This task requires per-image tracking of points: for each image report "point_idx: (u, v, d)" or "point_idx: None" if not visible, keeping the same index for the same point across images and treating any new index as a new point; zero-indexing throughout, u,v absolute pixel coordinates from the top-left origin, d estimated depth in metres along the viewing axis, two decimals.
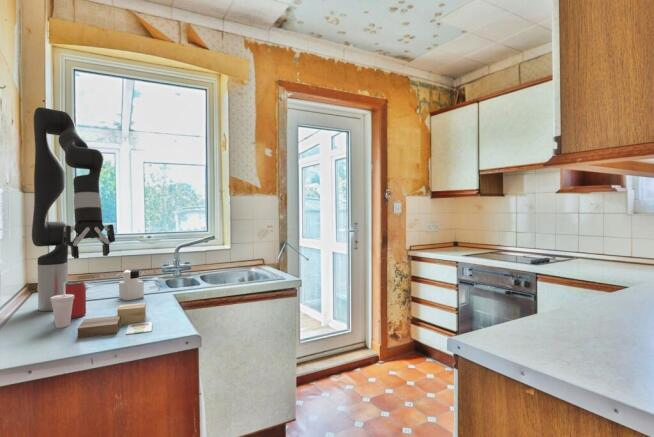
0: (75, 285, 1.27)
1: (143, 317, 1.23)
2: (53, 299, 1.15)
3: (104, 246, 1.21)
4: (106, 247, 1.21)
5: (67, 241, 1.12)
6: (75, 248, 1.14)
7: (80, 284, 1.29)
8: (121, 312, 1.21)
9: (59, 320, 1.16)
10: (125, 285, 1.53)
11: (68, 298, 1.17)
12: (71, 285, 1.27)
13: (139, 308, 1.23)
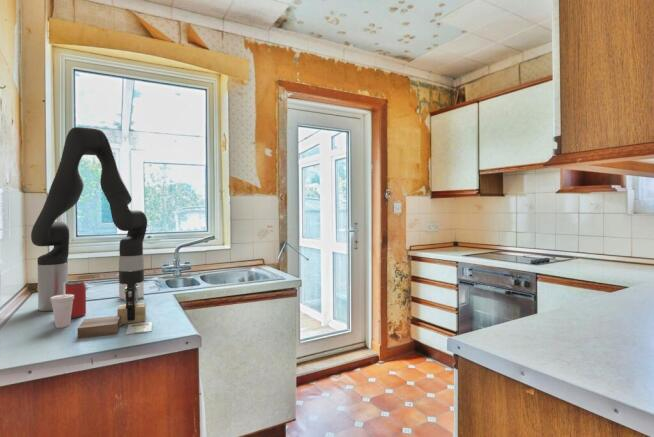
0: (75, 285, 1.27)
1: (143, 316, 1.23)
2: (53, 299, 1.15)
3: None
4: None
5: (134, 305, 1.20)
6: (133, 310, 1.21)
7: (80, 284, 1.29)
8: (121, 311, 1.21)
9: (59, 320, 1.16)
10: (125, 285, 1.53)
11: (68, 298, 1.17)
12: (71, 285, 1.27)
13: (139, 307, 1.23)
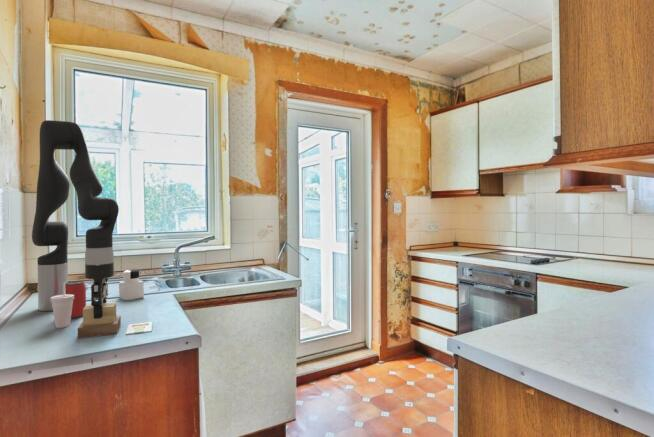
0: (75, 285, 1.27)
1: (112, 317, 1.12)
2: (53, 299, 1.15)
3: (103, 302, 1.16)
4: None
5: (101, 301, 1.07)
6: (101, 307, 1.09)
7: (80, 284, 1.29)
8: (87, 312, 1.09)
9: (59, 320, 1.16)
10: (125, 285, 1.53)
11: (68, 298, 1.17)
12: (71, 285, 1.27)
13: (107, 307, 1.11)
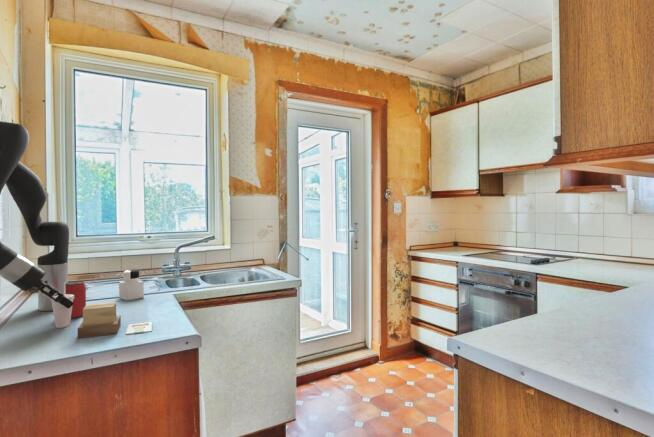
0: (75, 285, 1.27)
1: (112, 317, 1.12)
2: None
3: None
4: (61, 303, 1.15)
5: None
6: None
7: (80, 284, 1.29)
8: (87, 312, 1.09)
9: (59, 320, 1.16)
10: (125, 285, 1.53)
11: (68, 298, 1.17)
12: (71, 285, 1.27)
13: (107, 307, 1.11)
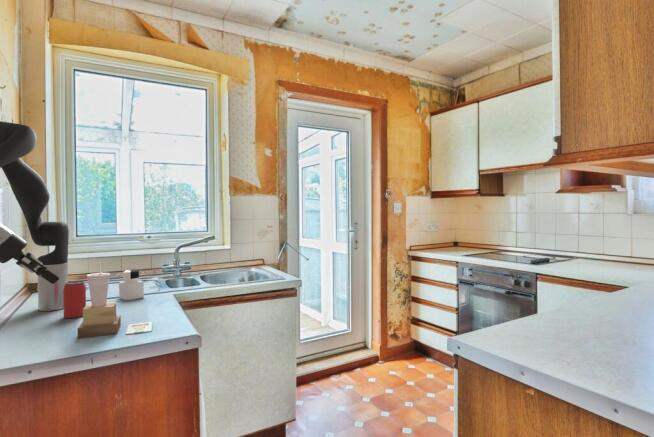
0: (75, 285, 1.27)
1: (112, 317, 1.12)
2: (89, 277, 1.10)
3: None
4: (44, 278, 0.99)
5: None
6: None
7: (80, 284, 1.29)
8: (87, 312, 1.09)
9: (95, 299, 1.11)
10: (125, 285, 1.53)
11: (105, 276, 1.11)
12: (71, 285, 1.27)
13: (107, 307, 1.11)
